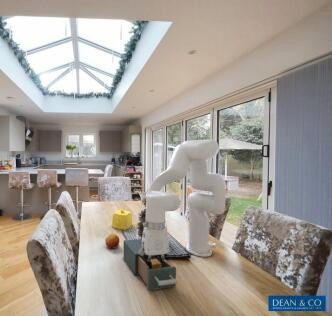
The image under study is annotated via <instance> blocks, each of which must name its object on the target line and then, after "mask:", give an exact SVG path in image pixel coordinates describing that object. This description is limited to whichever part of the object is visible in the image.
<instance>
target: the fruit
mask: <svg viewBox="0 0 332 316" xmlns="http://www.w3.org/2000/svg"><path fill="white" fill-rule="evenodd" d="M104 241H105V245H106V247H107V248H109V249H118V246H120V237H119V235H118V234H116V233H110V234H108V235H107V236H106V237H105V239H104Z"/></svg>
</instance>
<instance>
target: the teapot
mask: <svg viewBox="0 0 332 316" xmlns="http://www.w3.org/2000/svg"><path fill="white" fill-rule="evenodd" d="M132 215H133V214H132V212H131V211H129V210H125V209H118V210H116V211H115V212H113V214H112V218H111V227H112V228H114V229H117V230H124V231H126V230H129V228H131V227H132V225H133V216H132Z"/></svg>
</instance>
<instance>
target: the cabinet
mask: <svg viewBox="0 0 332 316" xmlns="http://www.w3.org/2000/svg"><path fill="white" fill-rule="evenodd" d="M141 247H142V238H135V239H134V238H133V239H125V240H124V239H123V261H125V263H126V264H127V266H128V268H130V271H131V272H132V273H133V275H134V276H140V274H139V273H138V272H137V256H141V255H140V254H139V253H138V251H139V250H140V248H141ZM143 253H144V254H145V251H144V252H143Z"/></svg>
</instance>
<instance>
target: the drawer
mask: <svg viewBox="0 0 332 316" xmlns="http://www.w3.org/2000/svg"><path fill="white" fill-rule="evenodd" d="M158 257H159V256H158V255H151V259H157V258H158ZM137 272H138V273H139V274H140V275H139V276H140V278H142V280H143V282H144V283H145V284H146V289H147V290H148V291H151V290H159V289H168V288H174V287H177V284H178V279H177V267H176V266H174V265H173V266H171V264H170V263H169V262H168V261H167V260H166V259H165V260H163V268H154V269H149V267H148V265H147V264H146V259H145V258H144V257H143V256H137Z"/></svg>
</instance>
